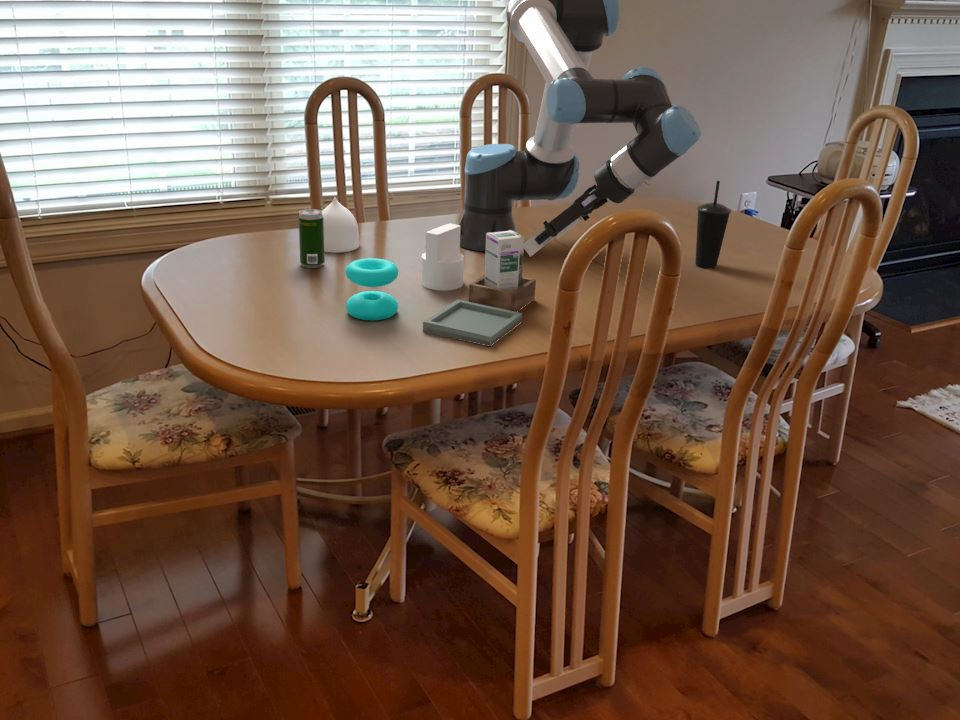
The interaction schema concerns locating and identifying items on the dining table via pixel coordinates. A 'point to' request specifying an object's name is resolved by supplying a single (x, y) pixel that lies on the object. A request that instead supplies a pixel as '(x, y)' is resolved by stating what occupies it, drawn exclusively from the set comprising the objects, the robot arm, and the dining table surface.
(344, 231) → the teardrop
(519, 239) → the syrup box
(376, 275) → the donuts
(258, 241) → the dining table surface
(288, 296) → the dining table surface
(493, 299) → the brown square open box
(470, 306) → the tray
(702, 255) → the drinking cup
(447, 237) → the cylinder with rectangular tab
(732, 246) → the dining table surface
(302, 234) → the beer can
